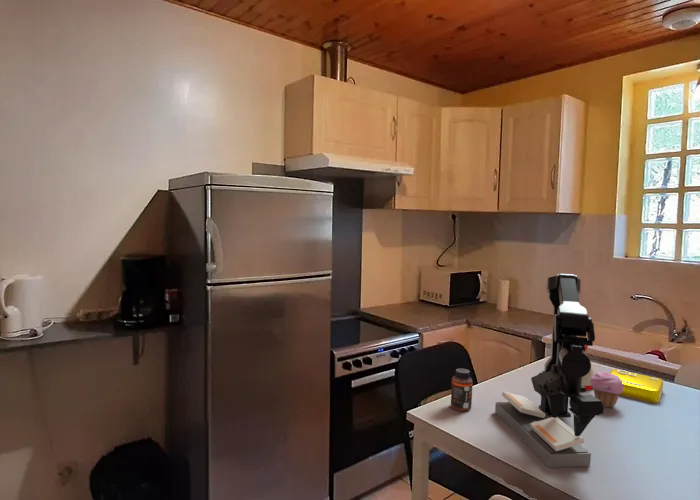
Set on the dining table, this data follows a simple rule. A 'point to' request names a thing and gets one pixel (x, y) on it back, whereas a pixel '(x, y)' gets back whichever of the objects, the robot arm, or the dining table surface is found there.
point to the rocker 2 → (556, 433)
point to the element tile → (640, 386)
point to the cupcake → (607, 387)
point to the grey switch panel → (540, 447)
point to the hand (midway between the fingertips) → (565, 426)
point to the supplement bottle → (461, 390)
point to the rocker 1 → (523, 404)
